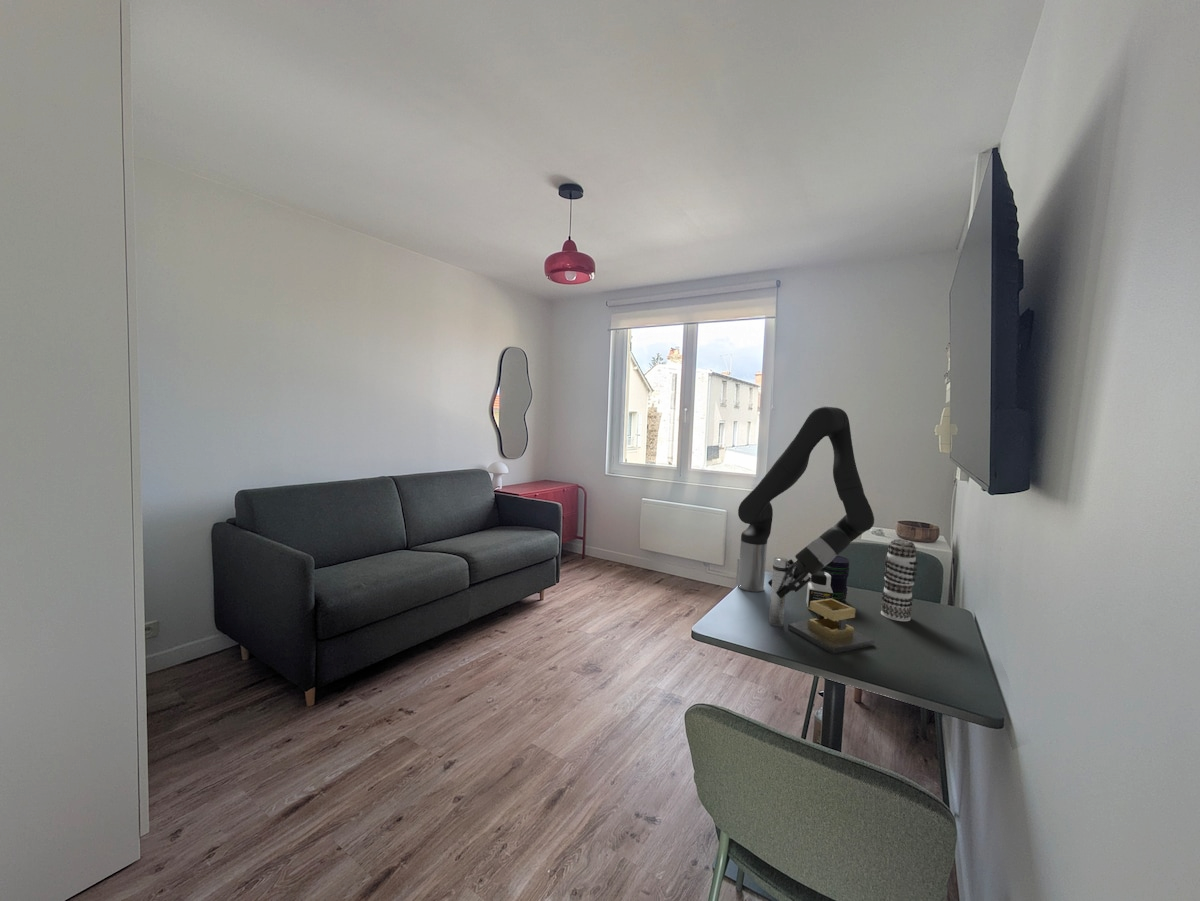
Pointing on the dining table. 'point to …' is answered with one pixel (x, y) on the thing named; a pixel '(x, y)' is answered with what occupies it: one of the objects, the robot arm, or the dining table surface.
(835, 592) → the storage jar
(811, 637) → the collar stand
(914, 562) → the decorative candle
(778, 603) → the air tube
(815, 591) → the medicine bottle
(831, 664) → the dining table surface
